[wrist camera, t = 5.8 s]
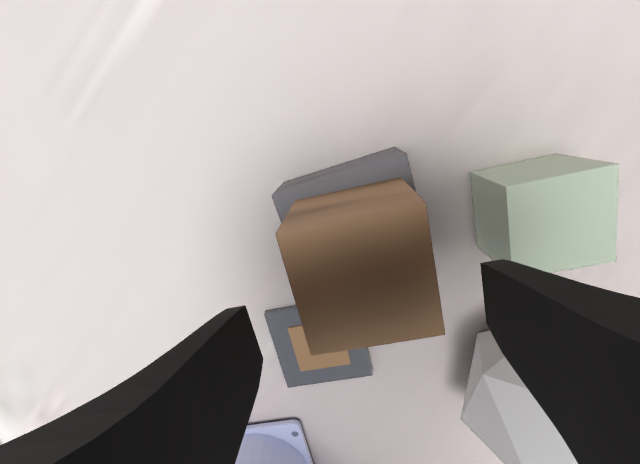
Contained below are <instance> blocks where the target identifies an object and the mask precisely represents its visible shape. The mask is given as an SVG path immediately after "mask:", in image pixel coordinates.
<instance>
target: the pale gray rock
mask: <svg viewBox="0 0 640 464" xmlns="http://www.w3.org/2000/svg"><path fill="white" fill-rule="evenodd" d="M461 420H462V421H463V422H464V423H465V424H466V425H467V426H468V427H469V428H470V429H471V430H472V431H473V432H474V433H475V434H476V435H477V436H478V437H479V438H480V439H481V440H482V441H483V442H484V443H485V445H486V446H487V447H488V448H489V449H490V450H491V451H492V452H493V453H494V454H495V455H496V456H497V457H498V458H499V459H500V460H501V461H502V462H503V463H504V464H578V463H577V461H576V459H575V458H574V456H573V454H572V453H571V451H570V449H569V448H568V446H567V444H566V443H565V441H564V440H563V438H562V437H561V435H560V433H559V432H558V430H557V429H556V427H555V426H554V424H553V423H552V422H551V420H550V419H549V418H548V416H547V415H546V413H545V412H544V411H543V409H542V408H541V407H540V405H539V404H538V402H537V401H536V400H535V398H534V397H533V395H532V394H531V393H530V391H529V390H528V389H527V387H526V386H525V384H524V383H523V382H522V380H521V379H520V378H519V376H518V375H517V373H516V372H515V371H514V369H513V368H512V366H511V365H510V363H509V362H508V361H507V359H506V358H505V356H504V355H503V353H502V352H501V350H500V348H499V346H498V345H497V343H496V341H495V339H494V337H493V335H492V333H491V331H490V330H489V331H485V332H481V333H478V334H477V339H476V344H475V349H474V354H473V359H472V364H471V369H470V374H469V379H468V384H467V389H466V394H465V399H464V405H463V410H462V415H461Z"/></svg>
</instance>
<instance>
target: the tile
mask: <svg viewBox="0 0 640 464" xmlns="http://www.w3.org/2000/svg"><path fill="white" fill-rule="evenodd" d="M264 315H265V318H266V321H267V324H268V327H269V331H270V334H271V337H272V340H273V343H274V346H275V349H276V352H277V355H278V358H279V362H280V365H281V368H282V371H283V374H284V377H285V380H286V383H287V386H288V387H295V386H302V385H309V384H316V383H323V382H330V381H337V380H344V379H350V378H357V377H364V376H371V375H373V373H372V368H371V363H370V359H369V355H368V350H367V347H365V348H358V349H352V350H346V351H339V352H333V353H327V354H320V355H314V356H311V354H310V350H309V347H308V344H307V340H306V337H305V333H304V330H303V327H302V323H301V320H300V316H299V313H298V309H297V306H290V307H285V308H279V309H273V310H268V311H265V314H264Z"/></svg>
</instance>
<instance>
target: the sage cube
mask: <svg viewBox="0 0 640 464" xmlns="http://www.w3.org/2000/svg"><path fill="white" fill-rule="evenodd" d="M618 170H619V164H617V163H611V162H605V161H599V160H592V159H586V158H580V157H573V156H567V155H561V154H552V155H547V156H542V157H538V158H533V159H528V160H524V161H519V162H514V163H510V164H505V165H500V166H495V167H491V168H486V169H481V170H477V171H472V172H470V178H471V189H472V199H473V209H474V219H475V229H476V239H477V246H478V247H479V248H480V249H481V250H482V251H483V252H484V253H485V254H486V255H487V256H488V257H489V258H490V259H492V260H493V261H495V260H500V259H505V260H510V261H513V262H517V263H520V264H523V265H527V266H530V267H533V268H536V269H539V270H542V271H545V272H548V273H551V272H557V271H563V270H569V269H574V268H580V267H586V266H592V265H598V264H604V263H609V262H615V261H616V238H617V204H618Z"/></svg>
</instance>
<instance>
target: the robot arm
mask: <svg viewBox="0 0 640 464" xmlns="http://www.w3.org/2000/svg"><path fill="white" fill-rule="evenodd" d="M481 273H482V283H483V293H484V303H485V313H486V323H487V325H488V327H489V329H490V331H491V333H492V335H493V337H494V339H495V341H496V343H497V345H498V346H499V348H500V350H501V352H502V353H503V355H504V356H505V358H506V359H507V361H508V362H509V363H510V365H511V366H512V368H513V369H514V371H515V372H516V373H517V375H518V376H519V378H520V379H521V380H522V382H523V383H524V384H525V386H526V387H527V389H528V390H529V391H530V393H531V394H532V395H533V397H534V398H535V400H536V401H537V402H538V404H539V405H540V407H541V408H542V409H543V411H544V412H545V413H546V415H547V416H548V418H549V419H550V420H551V422H552V423H553V424H554V426H555V427H556V429H557V430H558V432H559V433H560V435H561V437H562V438H563V440H564V441H565V443H566V444H567V446H568V448H569V449H570V451H571V453H572V454H573V456H574V458H575V459H576V461H577V463H578V464H640V298H637V297H633V296H629V295H625V294H621V293H617V292H613V291H609V290H605V289H602V288H598V287H594V286H591V285H587V284H584V283H580V282H577V281H574V280H570V279H567V278H564V277H561V276H558V275H554V274H551V273H548V272H545V271H542V270H539V269H536V268H533V267H530V266H527V265H523V264H520V263H517V262H513V261H510V260H505V259H500V260H495V261H489V262H484V263H481ZM262 364H263V357H262V354H261V351H260V348H259V345H258V342H257V339H256V336H255V333H254V330H253V327H252V324H251V321H250V318H249V315H248V312H247V309H246V306H240V307H234V308H228V309H226V310H224V311H222V312H221V313H219V314H218V315H216V316H215V317H213V318H212V319H211V320H209V321H208V322H207V323H205V324H204V325H203V326H201V327H200V328H199V329H197V330H196V331H195V332H193V333H192V334H191V335H189V336H188V337H187V338H185V339H184V340H183V341H181V342H180V343H179V344H177V345H176V346H175V347H173V348H172V349H171V350H169V351H168V352H166V353H165V354H164V355H162V356H161V357H159V358H158V359H157V360H155V361H154V362H152V363H151V364H150V365H148V366H147V367H145V368H144V369H142V370H141V371H139V372H138V373H136V374H135V375H133V376H132V377H130V378H129V379H127V380H125V381H124V382H122V383H120V384H119V385H117V386H116V387H114V388H112V389H111V390H109V391H107V392H106V393H104V394H102V395H100V396H99V397H97V398H95V399H93V400H91V401H89V402H87V403H86V404H84V405H82V406H80V407H78V408H76V409H74V410H73V411H71V412H69V413H67V414H65V415H63V416H61V417H60V418H58V419H56V420H54V421H52V422H50V423H47V424H45V425H43V426H41V427H39V428H37V429H35V430H33V431H31V432H29V433H27V434H24V435H22V436H20V437H18V438H16V439H13V440H11V441H9V442H7V443H5V444H2V445H0V464H313V461H312V458H311V455H310V452H309V449H308V446H307V443H306V440H305V437H304V434H303V430H302V427H301V424H300V422H299V421H297V420H293V419H292V420H285V421H277V422H270V423H262V424H255V425H247V424H248V421H249V418H250V415H251V412H252V408H253V405H254V402H255V399H256V395H257V392H258V388H259V383H260V377H261V371H262ZM294 431H296V432H294Z"/></svg>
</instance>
